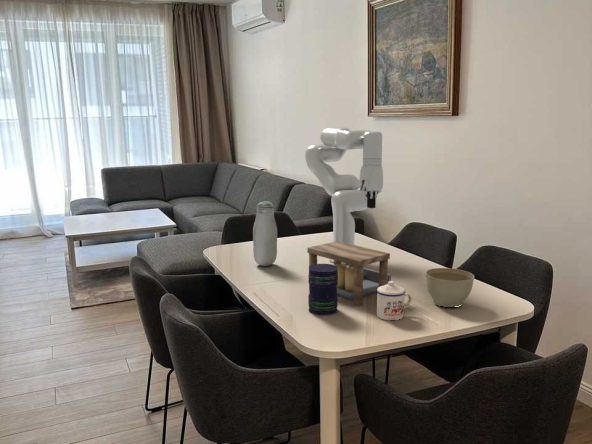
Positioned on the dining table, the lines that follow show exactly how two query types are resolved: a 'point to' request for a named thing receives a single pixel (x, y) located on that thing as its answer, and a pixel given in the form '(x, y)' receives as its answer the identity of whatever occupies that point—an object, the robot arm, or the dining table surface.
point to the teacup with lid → (391, 301)
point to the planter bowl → (449, 286)
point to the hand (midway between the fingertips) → (371, 207)
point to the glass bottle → (265, 235)
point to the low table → (352, 262)
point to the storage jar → (323, 289)
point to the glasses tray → (366, 289)
